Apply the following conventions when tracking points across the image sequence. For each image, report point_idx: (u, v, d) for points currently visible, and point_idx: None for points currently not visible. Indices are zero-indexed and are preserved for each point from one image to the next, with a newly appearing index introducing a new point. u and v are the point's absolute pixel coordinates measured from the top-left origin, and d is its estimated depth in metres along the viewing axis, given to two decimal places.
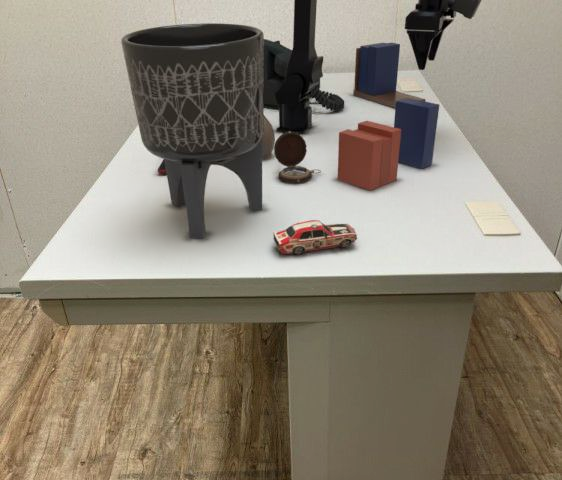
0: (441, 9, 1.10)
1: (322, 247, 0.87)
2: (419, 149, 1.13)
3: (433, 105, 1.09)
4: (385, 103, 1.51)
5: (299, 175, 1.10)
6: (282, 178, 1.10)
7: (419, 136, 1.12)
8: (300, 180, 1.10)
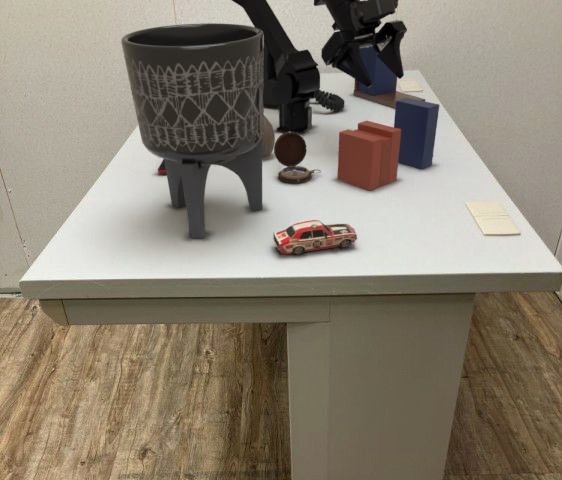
0: (356, 29, 1.10)
1: (322, 247, 0.87)
2: (419, 149, 1.13)
3: (433, 105, 1.09)
4: (385, 103, 1.51)
5: (299, 175, 1.10)
6: (282, 178, 1.10)
7: (419, 136, 1.12)
8: (300, 180, 1.10)
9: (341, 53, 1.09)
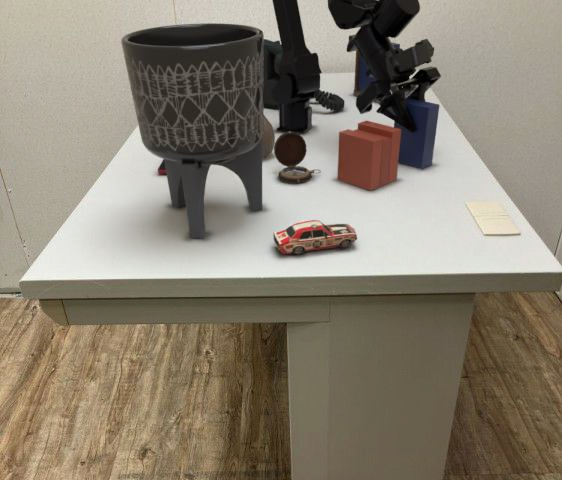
0: (392, 78, 1.09)
1: (322, 247, 0.87)
2: (419, 149, 1.13)
3: (433, 105, 1.09)
4: None
5: (299, 175, 1.10)
6: (282, 178, 1.10)
7: (419, 136, 1.12)
8: (300, 180, 1.10)
9: (387, 100, 1.09)
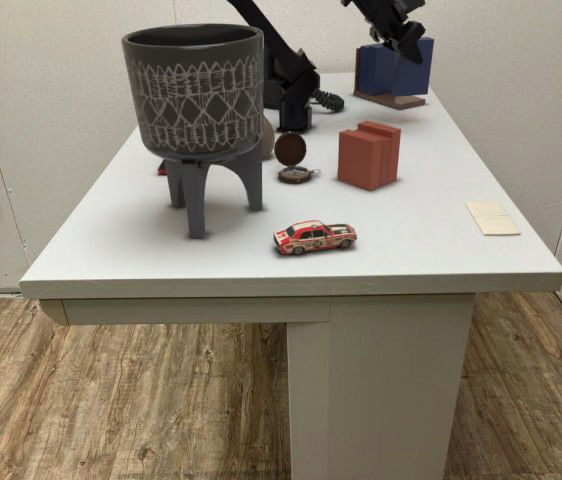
0: (404, 20, 1.24)
1: (322, 247, 0.87)
2: (425, 78, 1.33)
3: (428, 37, 1.30)
4: (385, 103, 1.51)
5: (299, 175, 1.10)
6: (282, 178, 1.10)
7: (425, 66, 1.32)
8: (300, 180, 1.10)
9: None
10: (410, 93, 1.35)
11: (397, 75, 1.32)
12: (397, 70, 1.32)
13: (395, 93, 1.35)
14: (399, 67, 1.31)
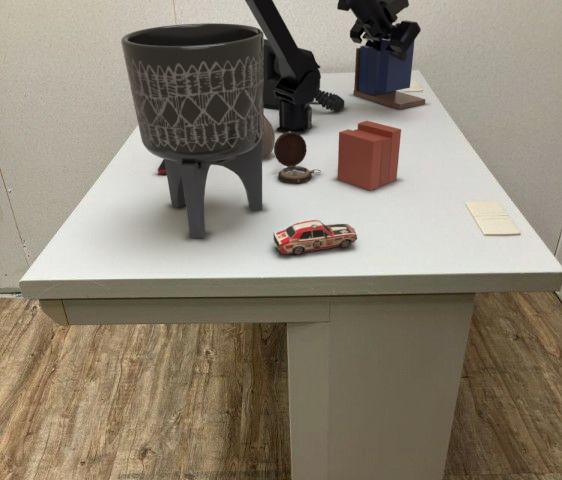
0: (394, 20, 1.33)
1: (322, 247, 0.87)
2: (408, 72, 1.44)
3: None
4: (385, 103, 1.51)
5: (299, 175, 1.10)
6: (282, 178, 1.10)
7: (408, 62, 1.42)
8: (300, 180, 1.10)
9: None
10: (397, 88, 1.44)
11: (386, 72, 1.41)
12: (385, 67, 1.41)
13: (384, 89, 1.43)
14: (389, 64, 1.40)
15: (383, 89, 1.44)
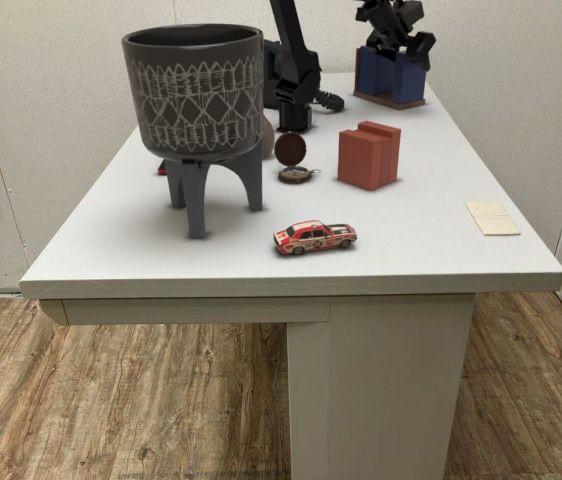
0: (410, 31, 1.37)
1: (322, 247, 0.87)
2: (422, 84, 1.48)
3: None
4: (385, 103, 1.51)
5: (299, 175, 1.10)
6: (282, 178, 1.10)
7: (421, 74, 1.46)
8: (300, 180, 1.10)
9: None
10: (410, 99, 1.49)
11: (401, 84, 1.45)
12: (400, 80, 1.45)
13: (399, 101, 1.47)
14: (403, 77, 1.44)
15: (397, 101, 1.48)
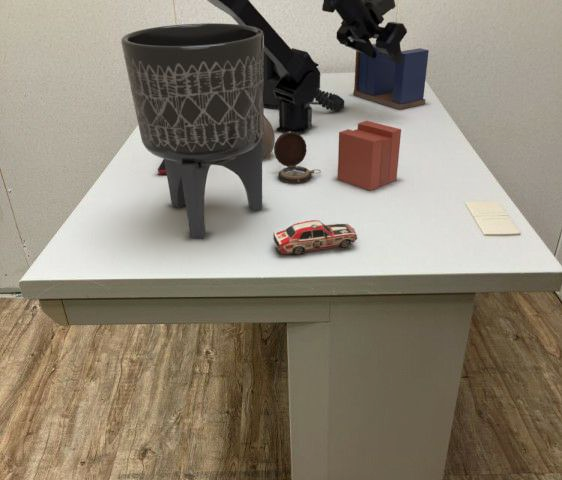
0: (380, 22, 1.31)
1: (322, 247, 0.87)
2: (422, 84, 1.48)
3: (421, 49, 1.45)
4: (385, 103, 1.51)
5: (299, 175, 1.10)
6: (282, 178, 1.10)
7: (421, 74, 1.46)
8: (300, 180, 1.10)
9: None
10: (410, 99, 1.49)
11: (401, 84, 1.45)
12: (400, 80, 1.45)
13: (399, 101, 1.47)
14: (403, 77, 1.44)
15: (397, 101, 1.48)
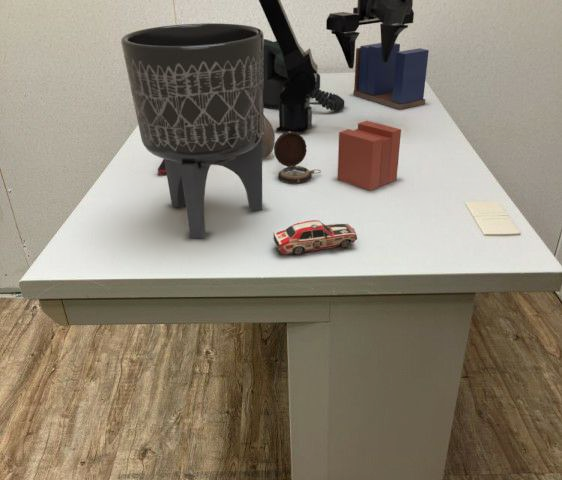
0: (366, 14, 1.19)
1: (322, 247, 0.87)
2: (422, 84, 1.48)
3: (421, 49, 1.45)
4: (385, 103, 1.51)
5: (299, 175, 1.10)
6: (282, 178, 1.10)
7: (421, 74, 1.46)
8: (300, 180, 1.10)
9: (340, 33, 1.20)
10: (410, 99, 1.49)
11: (401, 84, 1.45)
12: (400, 80, 1.45)
13: (399, 101, 1.47)
14: (403, 77, 1.44)
15: (397, 101, 1.48)
